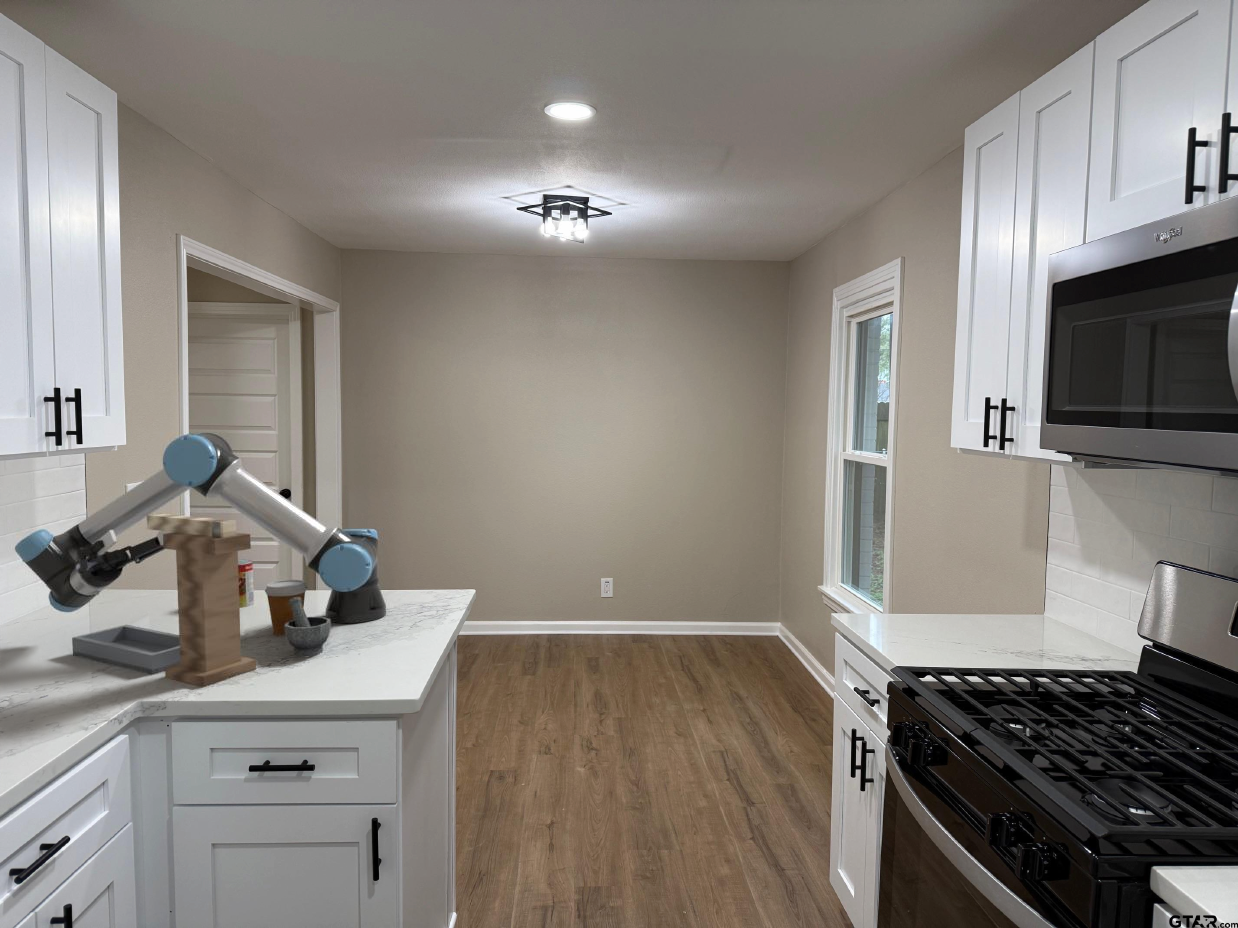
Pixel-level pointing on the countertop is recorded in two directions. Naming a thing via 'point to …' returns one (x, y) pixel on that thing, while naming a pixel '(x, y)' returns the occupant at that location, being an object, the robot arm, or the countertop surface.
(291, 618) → the disposable coffee cup
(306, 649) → the mortar and pestle
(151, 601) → the countertop surface
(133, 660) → the tray
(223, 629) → the post stand
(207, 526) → the bar
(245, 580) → the canned food
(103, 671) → the countertop surface
